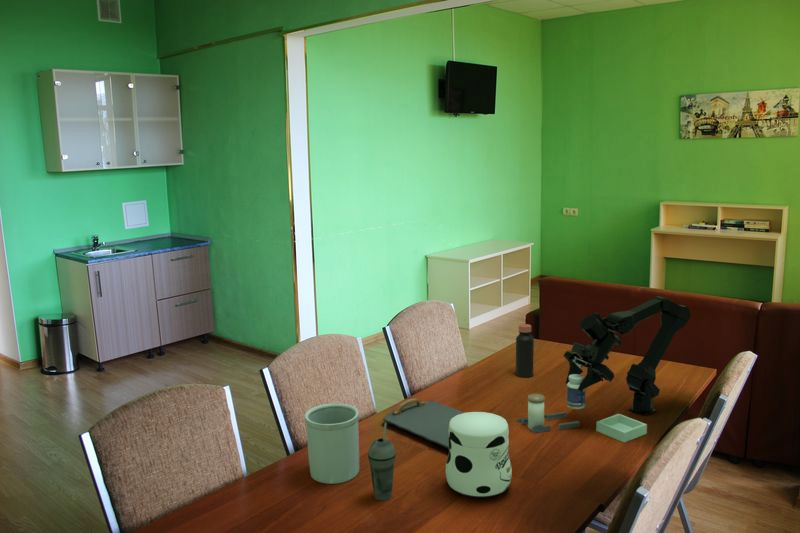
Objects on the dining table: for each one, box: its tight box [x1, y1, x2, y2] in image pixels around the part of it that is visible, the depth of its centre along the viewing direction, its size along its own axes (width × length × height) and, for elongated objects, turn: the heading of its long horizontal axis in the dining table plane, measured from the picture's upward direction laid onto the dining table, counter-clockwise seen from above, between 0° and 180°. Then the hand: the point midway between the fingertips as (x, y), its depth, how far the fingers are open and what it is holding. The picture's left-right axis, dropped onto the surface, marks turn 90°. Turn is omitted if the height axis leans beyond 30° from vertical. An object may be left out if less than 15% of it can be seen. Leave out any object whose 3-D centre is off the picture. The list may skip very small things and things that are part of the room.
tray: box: [595, 413, 648, 443], centre depth 211 cm, size 11×11×3 cm
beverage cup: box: [367, 422, 397, 501], centre depth 174 cm, size 7×7×20 cm
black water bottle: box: [515, 323, 535, 378], centre depth 264 cm, size 7×7×20 cm
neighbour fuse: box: [527, 393, 546, 430], centre depth 216 cm, size 5×5×10 cm
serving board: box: [382, 398, 465, 450], centre depth 216 cm, size 39×23×6 cm, turn 42°
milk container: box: [445, 411, 513, 499], centre depth 178 cm, size 17×17×18 cm
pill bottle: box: [566, 374, 587, 410], centre depth 214 cm, size 6×6×10 cm
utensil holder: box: [304, 402, 360, 485], centre depth 188 cm, size 15×15×18 cm
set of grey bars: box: [515, 411, 581, 434], centre depth 219 cm, size 17×11×2 cm, turn 107°
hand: (572, 387), depth 214 cm, fingers closed on pill bottle, 6 cm apart
